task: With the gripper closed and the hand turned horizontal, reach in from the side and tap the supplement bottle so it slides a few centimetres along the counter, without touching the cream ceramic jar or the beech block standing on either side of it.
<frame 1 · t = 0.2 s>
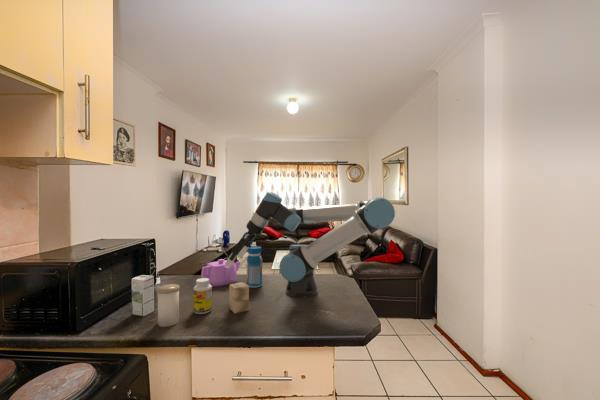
hand: (233, 261, 127), 17 cm above the kitchen counter, tool tilted 35°, fingers open, 13 cm apart
beech block: (239, 309, 114), on the kitchen counter
beverage bottle: (254, 285, 144), on the kitchen counter
syrup box: (143, 313, 109), on the kitchen counter
supplement bottle: (202, 311, 111), on the kitchen counter
teakettle: (221, 282, 150), on the kitchen counter
cream jar: (168, 322, 102), on the kitchen counter
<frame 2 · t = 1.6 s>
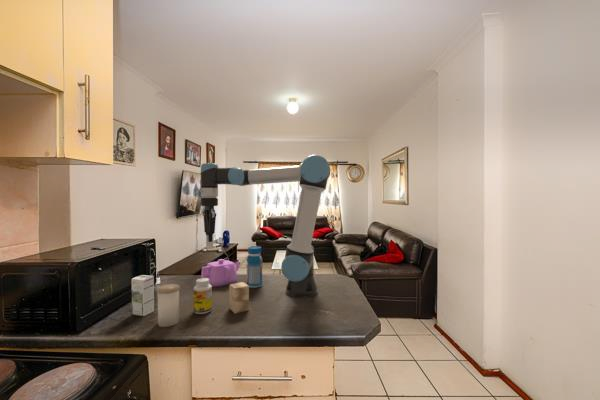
hand: (209, 248, 127), 22 cm above the kitchen counter, tool pointing down, fingers closed
nothing on the kitchen counter moved.
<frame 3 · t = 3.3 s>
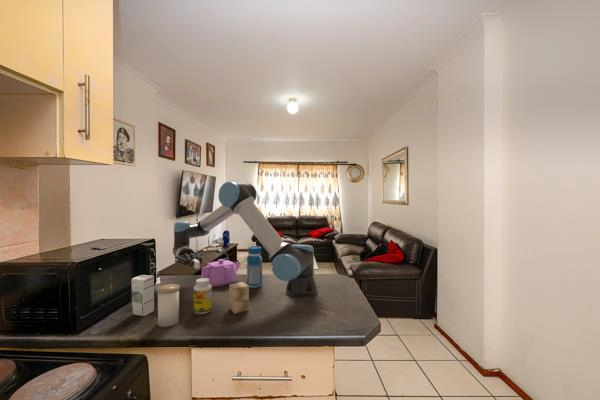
hand: (197, 265, 117), 17 cm above the kitchen counter, tool horizontal, fingers closed
nothing on the kitchen counter moved.
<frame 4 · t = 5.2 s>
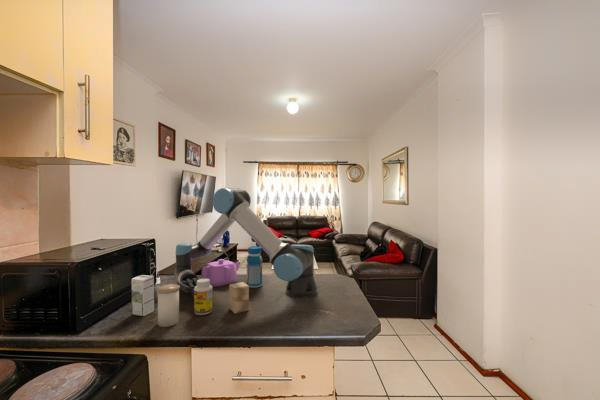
hand: (200, 293, 113), 6 cm above the kitchen counter, tool horizontal, fingers closed
supplement bottle: (203, 312, 110), on the kitchen counter, touching gripper
everything else where it was.
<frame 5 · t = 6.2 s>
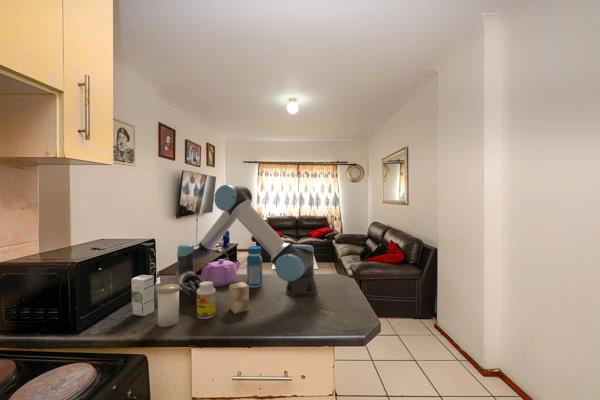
hand: (203, 296, 110), 6 cm above the kitchen counter, tool horizontal, fingers closed
supplement bottle: (206, 316, 107), on the kitchen counter, touching gripper
everything else where it was.
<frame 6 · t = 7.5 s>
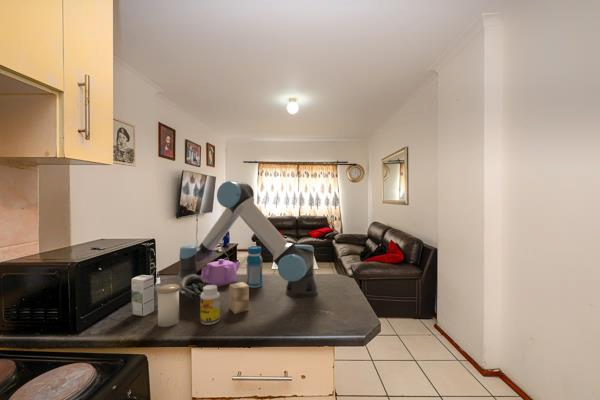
hand: (207, 300, 105), 7 cm above the kitchen counter, tool horizontal, fingers closed
supplement bottle: (210, 321, 103), on the kitchen counter, touching gripper
everything else where it was.
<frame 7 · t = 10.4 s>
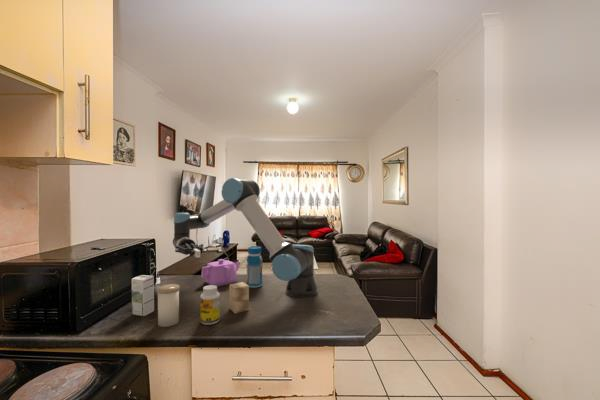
hand: (198, 254, 117), 22 cm above the kitchen counter, tool horizontal, fingers closed
supplement bottle: (210, 321, 102), on the kitchen counter
everything else where it was.
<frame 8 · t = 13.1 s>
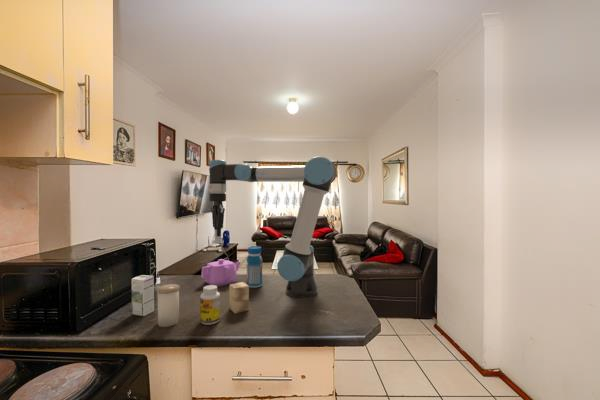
hand: (217, 242, 130), 24 cm above the kitchen counter, tool pointing down, fingers closed
nothing on the kitchen counter moved.
at the end: supplement bottle moved 10.7 cm from its start; cream jar moved 0.0 cm from its start; beech block moved 0.1 cm from its start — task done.
